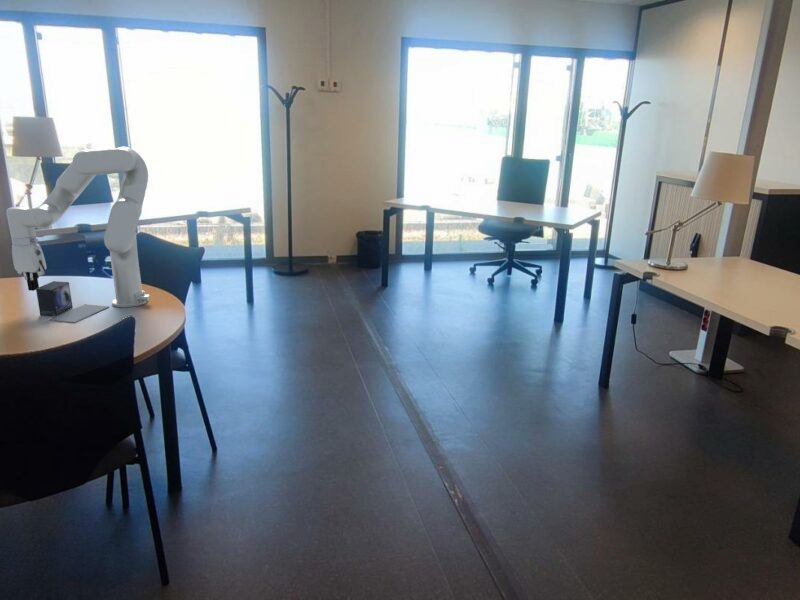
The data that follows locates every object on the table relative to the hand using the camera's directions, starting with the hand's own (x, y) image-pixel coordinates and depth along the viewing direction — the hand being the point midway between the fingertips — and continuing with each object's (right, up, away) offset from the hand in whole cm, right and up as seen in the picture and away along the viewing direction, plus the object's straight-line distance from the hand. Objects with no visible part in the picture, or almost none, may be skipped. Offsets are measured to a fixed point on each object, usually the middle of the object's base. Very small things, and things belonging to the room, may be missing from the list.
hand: (34, 289), depth 204 cm
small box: (+8, -9, +1) cm, 12 cm away
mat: (+18, -9, -1) cm, 20 cm away
